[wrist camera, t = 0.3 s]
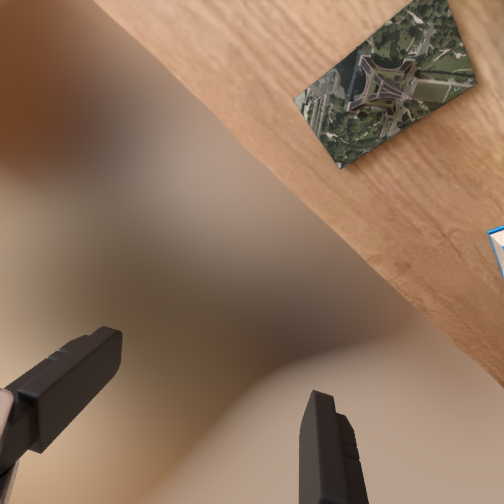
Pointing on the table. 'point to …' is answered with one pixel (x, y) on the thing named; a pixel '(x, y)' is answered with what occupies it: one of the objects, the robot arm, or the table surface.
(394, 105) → the eiffel tower figurine
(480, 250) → the table surface
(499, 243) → the book
